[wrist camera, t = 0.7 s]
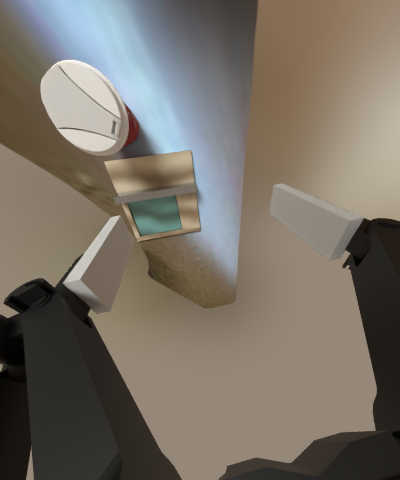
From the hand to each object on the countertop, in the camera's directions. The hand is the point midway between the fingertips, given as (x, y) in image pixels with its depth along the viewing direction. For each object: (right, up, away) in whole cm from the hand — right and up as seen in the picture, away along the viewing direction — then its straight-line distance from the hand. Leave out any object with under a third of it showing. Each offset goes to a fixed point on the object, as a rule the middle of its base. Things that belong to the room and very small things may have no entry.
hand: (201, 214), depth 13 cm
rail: (-10, +9, +22) cm, 26 cm away
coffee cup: (-15, +20, +15) cm, 29 cm away
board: (-10, +8, +24) cm, 27 cm away
